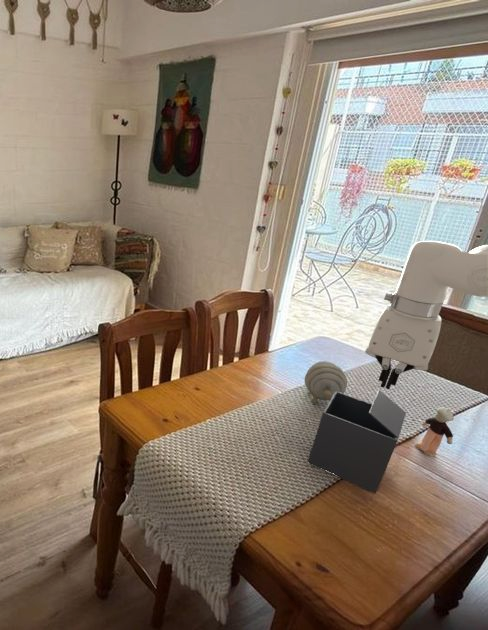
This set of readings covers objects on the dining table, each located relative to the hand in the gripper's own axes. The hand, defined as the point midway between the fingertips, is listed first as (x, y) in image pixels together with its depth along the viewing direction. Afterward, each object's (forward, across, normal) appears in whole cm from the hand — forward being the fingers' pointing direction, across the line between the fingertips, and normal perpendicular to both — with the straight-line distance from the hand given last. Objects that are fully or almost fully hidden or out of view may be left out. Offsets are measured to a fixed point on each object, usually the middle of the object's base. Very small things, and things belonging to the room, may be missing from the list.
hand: (385, 385), depth 93 cm
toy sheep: (+23, -14, +26) cm, 37 cm away
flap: (+6, +2, 0) cm, 6 cm away
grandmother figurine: (+23, +12, +19) cm, 32 cm away
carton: (+23, -2, 0) cm, 23 cm away
